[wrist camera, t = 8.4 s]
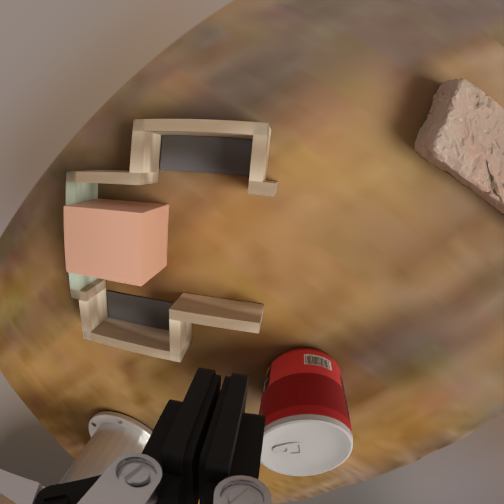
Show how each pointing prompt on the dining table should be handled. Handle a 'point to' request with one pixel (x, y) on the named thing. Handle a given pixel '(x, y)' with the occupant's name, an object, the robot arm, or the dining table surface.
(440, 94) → the brick
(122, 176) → the channel
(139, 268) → the block
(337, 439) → the canned food
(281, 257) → the dining table surface
